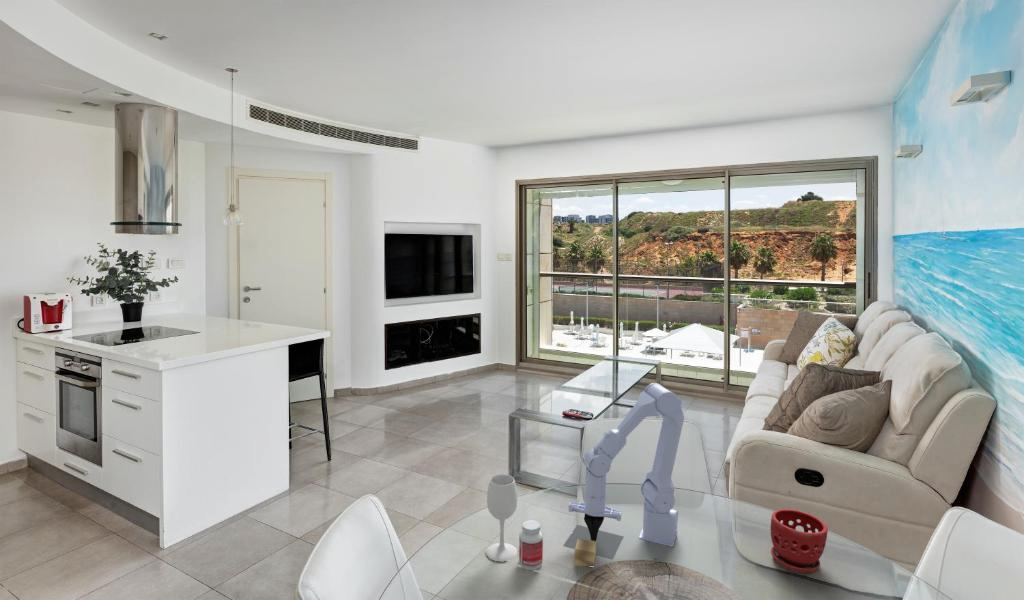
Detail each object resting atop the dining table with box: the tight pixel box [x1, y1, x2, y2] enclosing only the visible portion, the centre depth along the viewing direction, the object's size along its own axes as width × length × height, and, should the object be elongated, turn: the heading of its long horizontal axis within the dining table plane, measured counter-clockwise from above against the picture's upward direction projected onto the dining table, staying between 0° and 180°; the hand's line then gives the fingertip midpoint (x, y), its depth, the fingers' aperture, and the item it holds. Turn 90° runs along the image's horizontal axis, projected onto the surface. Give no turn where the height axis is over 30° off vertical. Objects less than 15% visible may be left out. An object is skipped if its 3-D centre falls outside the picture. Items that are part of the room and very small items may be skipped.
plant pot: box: [770, 508, 829, 574], centre depth 143 cm, size 13×13×12 cm
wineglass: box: [485, 473, 518, 562], centre depth 145 cm, size 9×9×21 cm
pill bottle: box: [518, 519, 544, 571], centre depth 141 cm, size 6×6×11 cm
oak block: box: [574, 539, 597, 568], centre depth 143 cm, size 5×5×5 cm
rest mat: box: [562, 524, 625, 560], centre depth 152 cm, size 14×12×1 cm
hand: (593, 538), depth 152 cm, fingers closed
